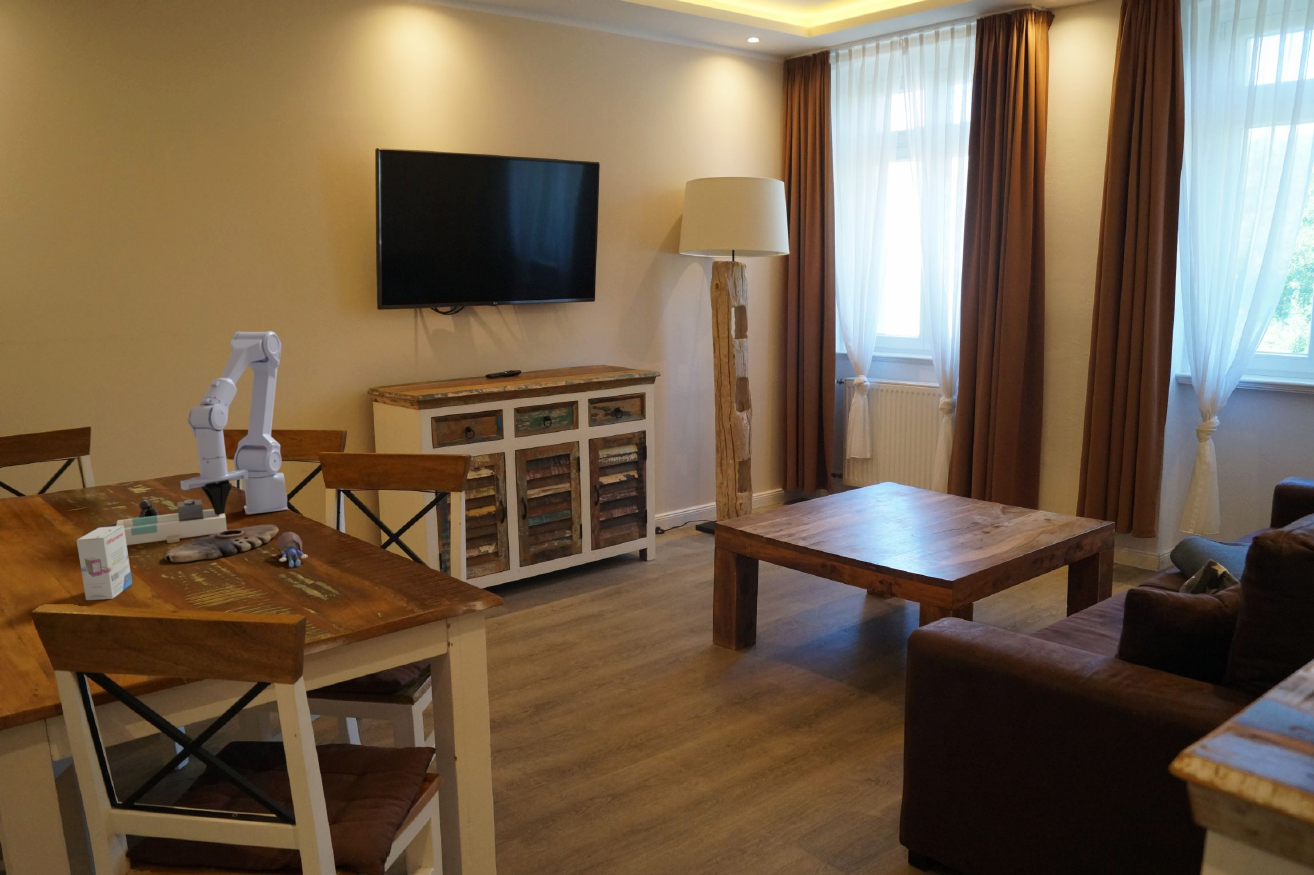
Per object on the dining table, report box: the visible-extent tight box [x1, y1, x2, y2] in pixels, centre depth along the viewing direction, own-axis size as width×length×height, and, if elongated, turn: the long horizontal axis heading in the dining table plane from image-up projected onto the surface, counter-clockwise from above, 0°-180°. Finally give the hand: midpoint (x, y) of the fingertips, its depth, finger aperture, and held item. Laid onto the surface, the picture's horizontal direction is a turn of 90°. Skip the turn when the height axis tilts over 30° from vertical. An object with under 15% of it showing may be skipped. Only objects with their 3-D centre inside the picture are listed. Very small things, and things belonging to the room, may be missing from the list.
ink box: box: [76, 526, 133, 601], centre depth 180 cm, size 9×5×12 cm, turn 5°
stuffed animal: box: [109, 499, 160, 527], centre depth 229 cm, size 12×10×12 cm
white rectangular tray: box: [116, 508, 228, 546], centre depth 218 cm, size 22×13×4 cm, turn 117°
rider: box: [177, 499, 204, 522], centre depth 221 cm, size 5×5×5 cm
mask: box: [164, 524, 280, 563], centre depth 208 cm, size 15×3×25 cm
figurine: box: [276, 531, 309, 568], centre depth 199 cm, size 6×5×12 cm
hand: (219, 514), depth 224 cm, fingers closed, pressing on white rectangular tray
